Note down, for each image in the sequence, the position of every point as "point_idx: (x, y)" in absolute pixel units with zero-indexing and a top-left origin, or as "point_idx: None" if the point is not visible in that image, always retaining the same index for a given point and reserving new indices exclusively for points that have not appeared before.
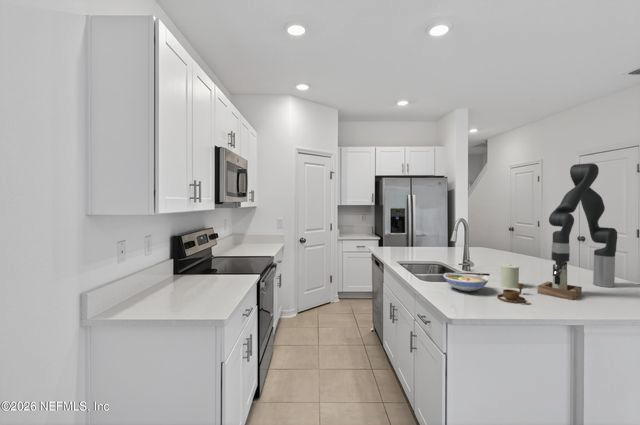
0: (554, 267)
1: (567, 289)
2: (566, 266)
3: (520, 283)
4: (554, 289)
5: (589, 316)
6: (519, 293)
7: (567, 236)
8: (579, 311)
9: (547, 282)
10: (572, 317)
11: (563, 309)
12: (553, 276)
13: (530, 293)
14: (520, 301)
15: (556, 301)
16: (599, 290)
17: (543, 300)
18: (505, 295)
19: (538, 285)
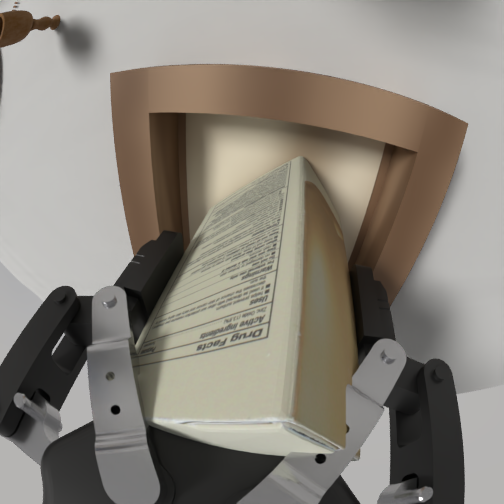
0: (2, 389)
1: (360, 263)
2: (395, 481)
3: (3, 19)
4: (129, 211)
5: (43, 296)
6: (51, 19)
7: None
8: (51, 282)
9: (407, 116)
10: (7, 265)
11: (25, 245)
12: (259, 255)
13: (112, 38)
14: None
15: (75, 212)
16: (485, 343)
17: (41, 163)
18: None
19: (126, 71)
